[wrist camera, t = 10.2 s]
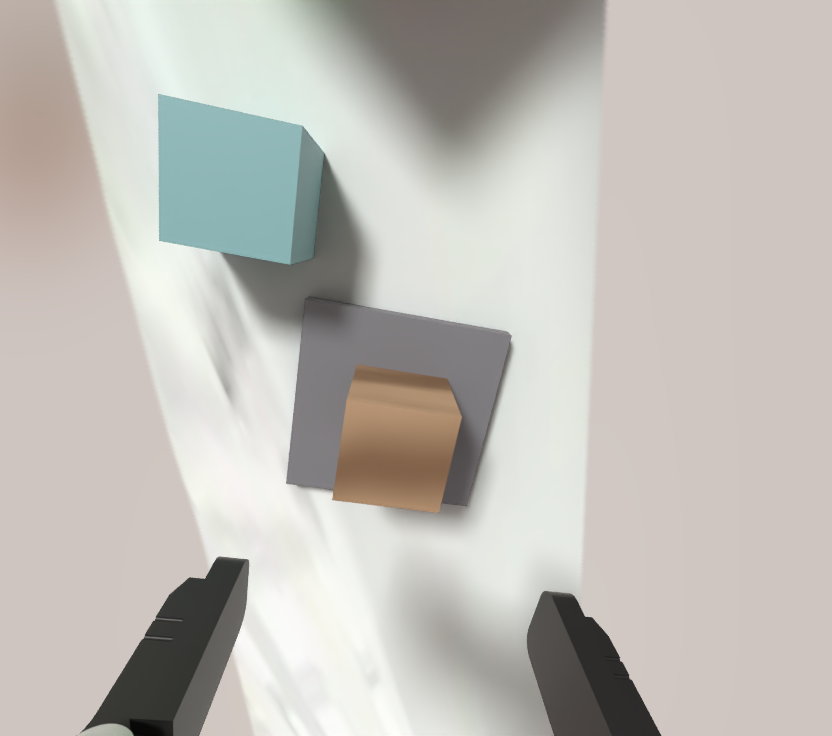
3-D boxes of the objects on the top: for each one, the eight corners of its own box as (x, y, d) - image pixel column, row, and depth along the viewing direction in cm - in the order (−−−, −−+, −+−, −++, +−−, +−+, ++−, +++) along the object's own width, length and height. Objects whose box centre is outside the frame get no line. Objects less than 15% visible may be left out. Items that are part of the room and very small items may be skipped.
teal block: (217, 130, 19) (158, 93, 14) (324, 153, 19) (302, 126, 15) (214, 239, 20) (159, 240, 15) (313, 258, 21) (289, 264, 16)
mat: (309, 296, 21) (305, 299, 20) (506, 331, 22) (511, 335, 21) (290, 474, 24) (286, 483, 24) (463, 496, 26) (466, 506, 25)
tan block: (357, 364, 22) (346, 400, 17) (447, 378, 22) (461, 417, 17) (344, 445, 23) (332, 500, 18) (429, 457, 24) (438, 512, 19)
